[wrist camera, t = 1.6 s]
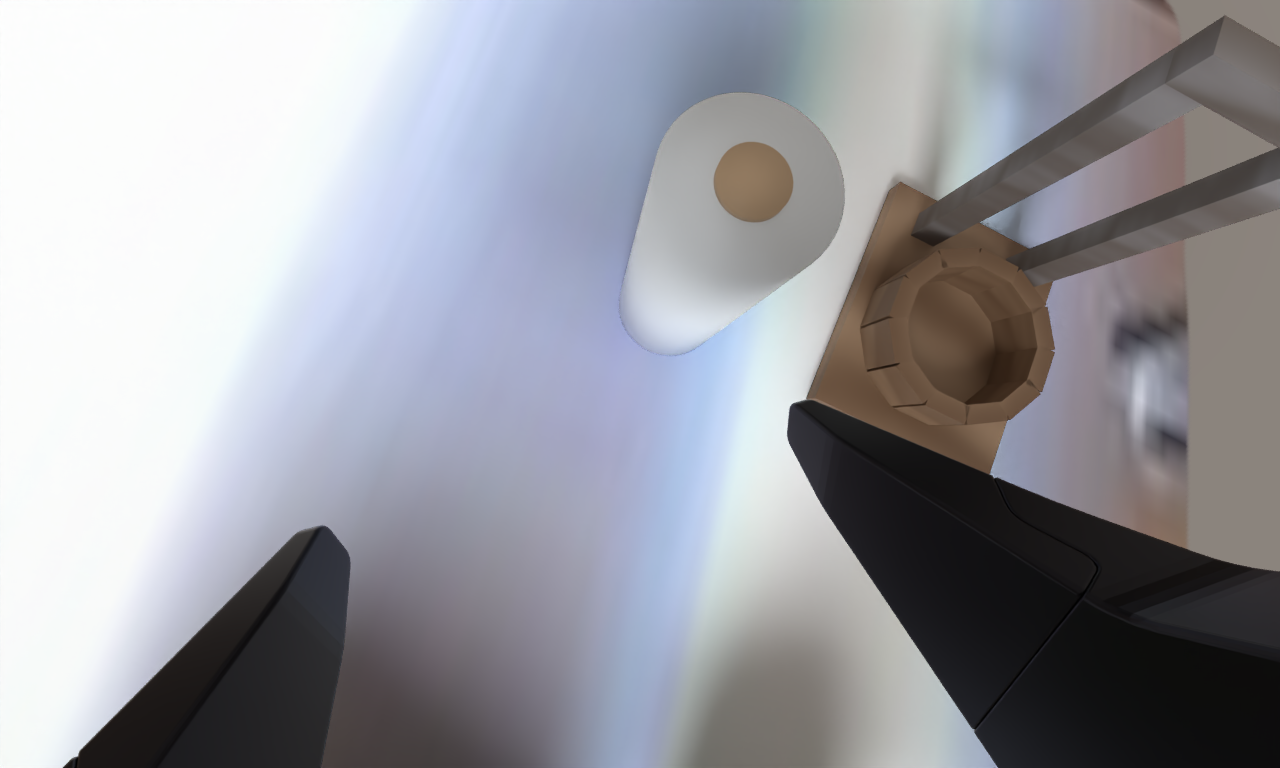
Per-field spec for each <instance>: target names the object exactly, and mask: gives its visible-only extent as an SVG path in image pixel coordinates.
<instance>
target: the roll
mask: <svg viewBox="0 0 1280 768" xmlns="http://www.w3.org/2000/svg"><path fill="white" fill-rule="evenodd" d="M844 201H845V189H844V180H843V175H842V171H841V167H840V164H839V162H838V159H837V156H836V154H835V152H834V150H833V148H832V146H831V145H830V143H829V142H828V140H827V139H826V137H825V136H824V134H823V133H822V132H821V131H820V130H819V128H818V127H817V126H816V125H815V124H814V123H813V122H812V121H811V120H810V119H809V118H807V117H806V116H805V115H804V114H802V113H801V112H800V111H798V110H797V109H795V108H794V107H792V106H790V105H788V104H786V103H785V102H782V101H780V100H777V99H775V98H772V97H769V96H765V95H761V94H755V93H745V92H735V93H725V94H721V95H717V96H713V97H710V98H708V99H705V100H702V101H700V102H699V103H697V104H695V105H693V106H692V107H690V108H689V109H688V110H686V111H685V112H684V113H682V114H681V115H680V116H679V117H678V118H677V119H676V120H675V121H674V122H673V124H672V125H671V127H670V128H669V129H668V131H667V132H666V134H665V136H664V138H663V140H662V141H661V144H660V146H659V149H658V152H657V155H656V159H655V163H654V166H653V170H652V174H651V178H650V182H649V185H648V189H647V193H646V197H645V200H644V204H643V208H642V212H641V216H640V219H639V223H638V227H637V231H636V235H635V238H634V242H633V246H632V250H631V254H630V257H629V261H628V265H627V269H626V272H625V276H624V280H623V284H622V288H621V291H620V296H619V314H620V318H621V321H622V324H623V326H624V328H625V330H626V332H627V333H628V335H629V336H630V337H631V338H632V339H633V341H634V342H636V343H637V344H638V345H639V346H641V347H642V348H644V349H645V350H647V351H649V352H652V353H655V354H658V355H664V356H676V355H682V354H685V353H688V352H690V351H692V350H694V349H696V348H697V347H699V346H700V345H701V344H703V343H704V342H706V341H707V340H708V339H710V338H711V337H712V336H714V335H715V334H716V333H718V332H719V331H721V330H722V329H723V328H725V327H726V326H727V325H729V324H730V323H732V322H733V321H734V320H736V319H737V318H738V317H740V316H741V315H742V314H744V313H745V312H747V311H748V310H749V309H751V308H752V307H753V306H755V305H756V304H757V303H759V302H760V301H762V300H763V299H764V298H766V297H767V296H768V295H770V294H771V293H772V292H774V291H775V290H777V289H778V288H779V287H781V286H782V285H783V284H785V283H786V282H787V281H789V280H790V279H792V278H793V277H794V276H796V275H797V274H798V273H800V272H801V271H802V270H804V269H805V268H807V267H808V266H809V265H811V264H812V263H813V262H814V261H815V260H816V259H818V258H819V257H820V256H821V255H822V254H823V252H824V251H825V250H826V249H827V248H828V246H829V245H830V243H831V242H832V240H833V239H834V237H835V235H836V233H837V230H838V228H839V226H840V222H841V219H842V215H843V209H844Z"/></svg>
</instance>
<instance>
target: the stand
mask: <svg viewBox="0 0 1280 768" xmlns="http://www.w3.org/2000/svg"><path fill="white" fill-rule="evenodd" d="M1201 105H1203V106H1205V107H1207V108H1209V109H1211V110H1212V111H1214V112H1216V113H1218V114H1220V115H1221V116H1223V117H1225V118H1226V119H1228V120H1230V121H1232V122H1234V123H1235V124H1237V125H1239V126H1241V127H1243V128H1244V129H1246V130H1248V131H1250V132H1251V133H1253V134H1255V135H1257V136H1259V137H1260V138H1262V139H1264V140H1266V141H1267V142H1269V143H1271V144H1273V145H1275V146H1277V147H1278V148H1277V149H1274V150H1272V151H1269V152H1267V153H1264V154H1262V155H1259V156H1257V157H1254V158H1252V159H1249V160H1247V161H1245V162H1242V163H1240V164H1237V165H1235V166H1232V167H1230V168H1227V169H1225V170H1222V171H1220V172H1218V173H1215V174H1213V175H1210V176H1208V177H1205V178H1203V179H1200V180H1198V181H1195V182H1193V183H1191V184H1188V185H1186V186H1183V187H1181V188H1178V189H1176V190H1173V191H1171V192H1168V193H1166V194H1163V195H1161V196H1159V197H1156V198H1154V199H1151V200H1149V201H1146V202H1144V203H1141V204H1139V205H1136V206H1134V207H1132V208H1129V209H1127V210H1124V211H1122V212H1119V213H1117V214H1114V215H1112V216H1109V217H1107V218H1105V219H1102V220H1100V221H1097V222H1095V223H1092V224H1090V225H1087V226H1085V227H1082V228H1080V229H1078V230H1075V231H1073V232H1070V233H1068V234H1065V235H1063V236H1060V237H1058V238H1055V239H1053V240H1051V241H1048V242H1046V243H1043V244H1041V245H1038V246H1036V247H1033V248H1031V249H1028V248H1026V247H1024V246H1022V245H1020V244H1019V243H1017V242H1015V241H1013V240H1011V239H1009V238H1007V237H1005V236H1003V235H1001V234H999V233H997V232H996V231H994V230H992V229H990V228H988V227H986V226H984V225H982V224H980V223H979V222H981V221H983V220H985V219H987V218H989V217H990V216H992V215H994V214H996V213H998V212H1000V211H1002V210H1004V209H1006V208H1007V207H1009V206H1011V205H1013V204H1015V203H1017V202H1019V201H1021V200H1023V199H1025V198H1026V197H1028V196H1030V195H1032V194H1034V193H1036V192H1038V191H1040V190H1042V189H1044V188H1045V187H1047V186H1049V185H1051V184H1053V183H1055V182H1057V181H1059V180H1061V179H1063V178H1064V177H1066V176H1068V175H1070V174H1072V173H1074V172H1076V171H1078V170H1080V169H1082V168H1083V167H1085V166H1087V165H1089V164H1091V163H1093V162H1095V161H1097V160H1099V159H1101V158H1102V157H1104V156H1106V155H1108V154H1110V153H1112V152H1114V151H1116V150H1118V149H1120V148H1121V147H1123V146H1125V145H1127V144H1129V143H1131V142H1133V141H1135V140H1137V139H1138V138H1140V137H1142V136H1144V135H1146V134H1148V133H1150V132H1152V131H1154V130H1156V129H1157V128H1159V127H1161V126H1163V125H1165V124H1167V123H1169V122H1171V121H1173V120H1175V119H1176V118H1178V117H1180V116H1182V115H1184V114H1186V113H1188V112H1190V111H1192V110H1194V109H1195V108H1197V107H1199V106H1201ZM1277 209H1280V47H1279V46H1277V45H1275V44H1274V43H1272V42H1270V41H1269V40H1267V39H1265V38H1263V37H1262V36H1260V35H1258V34H1256V33H1255V32H1253V31H1251V30H1249V29H1248V28H1246V27H1244V26H1242V25H1241V24H1239V23H1237V22H1236V21H1234V20H1232V19H1231V18H1229V17H1227V16H1223V17H1222V18H1220V19H1219V20H1217V21H1216V22H1214V23H1213V24H1211V25H1209V26H1208V27H1206V28H1205V29H1203V30H1202V31H1200V32H1199V33H1197V34H1195V35H1194V36H1192V37H1191V38H1189V39H1188V40H1186V41H1185V42H1183V43H1182V44H1180V45H1178V46H1177V47H1175V48H1174V49H1172V50H1171V51H1169V52H1168V53H1166V54H1165V55H1163V56H1161V57H1160V58H1158V59H1157V60H1155V61H1154V62H1152V63H1151V64H1149V65H1148V66H1146V67H1144V68H1143V69H1141V70H1140V71H1138V72H1137V73H1135V74H1134V75H1132V76H1131V77H1129V78H1127V79H1126V80H1124V81H1123V82H1121V83H1120V84H1118V85H1117V86H1115V87H1114V88H1112V89H1111V90H1109V91H1107V92H1106V93H1104V94H1103V95H1101V96H1100V97H1098V98H1097V99H1095V100H1094V101H1092V102H1090V103H1089V104H1087V105H1086V106H1084V107H1083V108H1081V109H1080V110H1078V111H1077V112H1075V113H1073V114H1072V115H1070V116H1069V117H1067V118H1066V119H1064V120H1063V121H1061V122H1060V123H1058V124H1056V125H1055V126H1053V127H1052V128H1050V129H1049V130H1047V131H1046V132H1044V133H1043V134H1041V135H1039V136H1038V137H1036V138H1035V139H1033V140H1032V141H1030V142H1029V143H1027V144H1026V145H1024V146H1023V147H1021V148H1019V149H1018V150H1016V151H1015V152H1013V153H1012V154H1010V155H1009V156H1007V157H1006V158H1004V159H1002V160H1001V161H999V162H998V163H996V164H995V165H993V166H992V167H990V168H989V169H987V170H985V171H984V172H982V173H981V174H979V175H978V176H976V177H975V178H973V179H972V180H970V181H968V182H967V183H965V184H964V185H962V186H961V187H959V188H958V189H956V190H955V191H953V192H951V193H950V194H948V195H947V196H945V197H944V198H942V199H941V200H939V201H936V200H934V199H932V198H930V197H928V196H926V195H924V194H923V193H921V192H919V191H917V190H915V189H913V188H911V187H909V186H907V185H905V184H903V183H901V182H900V183H899V184H897V185H896V186H895V187H893V188H892V189H891V190H890V191H889V193H888V195H887V198H886V200H885V203H884V205H883V208H882V210H881V213H880V216H879V218H878V221H877V223H876V226H875V228H874V231H873V233H872V236H871V238H870V241H869V243H868V246H867V248H866V251H865V253H864V256H863V258H862V261H861V263H860V266H859V268H858V271H857V273H856V276H855V278H854V281H853V283H852V286H851V288H850V291H849V293H848V296H847V298H846V301H845V303H844V306H843V308H842V311H841V313H840V316H839V318H838V321H837V323H836V326H835V328H834V331H833V334H832V336H831V339H830V341H829V344H828V346H827V349H826V351H825V354H824V356H823V359H822V361H821V364H820V366H819V369H818V371H817V374H816V376H815V379H814V381H813V384H812V386H811V389H810V391H809V394H808V396H807V400H808V399H811V400H814V401H817V402H819V403H822V404H824V405H826V406H829V407H831V408H833V409H836V410H838V411H841V412H843V413H845V414H848V415H850V416H852V417H855V418H857V419H859V420H862V421H864V422H867V423H869V424H871V425H874V426H876V427H878V428H881V429H883V430H885V431H888V432H890V433H893V434H895V435H897V436H900V437H902V438H904V439H907V440H909V441H911V442H914V443H916V444H919V445H921V446H923V447H926V448H928V449H930V450H933V451H935V452H937V453H940V454H942V455H945V456H947V457H949V458H952V459H954V460H956V461H959V462H961V463H963V464H966V465H968V466H971V467H973V468H975V469H978V470H980V471H982V472H985V473H987V474H990V471H991V468H992V465H993V462H994V459H995V456H996V453H997V450H998V447H999V444H1000V440H1001V437H1002V434H1003V431H1004V428H1005V425H1006V422H1007V421H1008V420H1011V419H1012V418H1013V417H1014V416H1015V415H1017V414H1018V413H1019V412H1020V411H1021V410H1022V409H1024V408H1025V407H1026V406H1027V405H1028V404H1029V403H1031V402H1032V401H1033V400H1034V399H1035V398H1037V397H1038V396H1039V395H1040V392H1042V391H1043V387H1044V384H1045V381H1046V378H1047V375H1048V372H1049V369H1050V366H1051V363H1052V359H1053V356H1054V353H1055V352H1053V351H1051V350H1055V347H1054V341H1053V336H1052V330H1051V324H1050V319H1049V313H1048V307H1045V305H1046V301H1047V298H1048V295H1049V292H1050V289H1051V286H1052V283H1053V281H1055V280H1058V279H1061V278H1064V277H1067V276H1071V275H1074V274H1077V273H1080V272H1083V271H1086V270H1089V269H1093V268H1096V267H1099V266H1102V265H1105V264H1108V263H1111V262H1114V261H1118V260H1121V259H1124V258H1127V257H1130V256H1133V255H1136V254H1140V253H1143V252H1146V251H1149V250H1152V249H1155V248H1158V247H1162V246H1165V245H1168V244H1171V243H1174V242H1177V241H1180V240H1183V239H1187V238H1190V237H1193V236H1196V235H1199V234H1202V233H1205V232H1209V231H1212V230H1215V229H1218V228H1221V227H1224V226H1227V225H1231V224H1233V223H1237V222H1240V221H1243V220H1246V219H1249V218H1252V217H1255V216H1259V215H1262V214H1265V213H1268V212H1271V211H1274V210H1277Z"/></svg>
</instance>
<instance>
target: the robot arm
mask: <svg viewBox="0 0 1280 768" xmlns="http://www.w3.org/2000/svg"><path fill="white" fill-rule="evenodd" d="M787 437H788V441H789V444H790V446H791V448H792V450H793V452H794V454H795V456H796V457H797V459H798V461H799V463H800V465H801V467H802V469H803V471H804V473H805V475H806V477H807V478H808V480H809V482H810V484H811V486H812V488H813V490H814V492H815V494H816V496H817V497H818V499H819V501H820V503H821V505H822V506H823V508H824V509H825V511H826V513H827V514H828V516H829V517H830V519H831V520H832V522H833V523H834V525H835V526H836V528H837V529H838V531H839V532H840V534H841V535H842V536H843V538H844V539H845V541H846V542H847V544H848V545H849V547H850V548H851V550H852V551H853V553H854V554H855V556H856V557H857V559H858V560H859V562H860V563H861V565H862V566H863V568H864V569H865V571H866V572H867V574H868V575H869V577H870V578H871V579H872V581H873V582H874V584H875V585H876V587H877V588H878V590H879V591H880V593H881V594H882V596H883V597H884V599H885V600H886V602H887V603H888V605H889V606H890V608H891V609H892V611H893V612H894V614H895V615H896V617H897V618H898V620H899V621H900V623H901V624H902V625H903V627H904V628H905V630H906V631H907V633H908V634H909V636H910V637H911V639H912V640H913V642H914V643H915V645H916V646H917V648H918V649H919V651H920V652H921V654H922V655H923V657H924V658H925V660H926V661H927V663H928V664H929V666H930V667H931V668H932V670H933V671H934V673H935V674H936V676H937V677H938V679H939V680H940V682H941V683H942V685H943V686H944V688H945V689H946V691H947V692H948V694H949V695H950V697H951V698H952V700H953V701H954V703H955V704H956V706H957V707H958V709H959V710H960V712H961V713H962V714H963V716H964V717H965V719H966V720H967V722H968V723H969V725H970V726H971V728H972V729H975V730H974V733H975V734H976V736H977V737H978V739H979V740H980V742H981V743H982V745H983V746H984V748H985V749H986V751H987V752H988V754H989V755H990V757H991V758H992V760H993V761H994V762H995V764H996V765H997V767H998V768H1280V571H1279V572H1278V571H1271V570H1263V569H1257V568H1251V567H1247V566H1242V565H1237V564H1233V563H1229V562H1225V561H1221V560H1217V559H1214V558H1211V557H1208V556H1205V555H1202V554H1199V553H1196V552H1193V551H1190V550H1188V549H1185V548H1182V547H1179V546H1176V545H1174V544H1171V543H1168V542H1165V541H1162V540H1160V539H1157V538H1154V537H1151V536H1148V535H1146V534H1143V533H1140V532H1137V531H1134V530H1132V529H1129V528H1126V527H1123V526H1120V525H1118V524H1115V523H1112V522H1109V521H1106V520H1104V519H1101V518H1098V517H1095V516H1093V515H1090V514H1087V513H1085V512H1082V511H1079V510H1076V509H1074V508H1071V507H1068V506H1066V505H1063V504H1060V503H1058V502H1055V501H1053V500H1050V499H1048V498H1045V497H1043V496H1040V495H1038V494H1035V493H1033V492H1030V491H1028V490H1025V489H1023V488H1021V487H1018V486H1016V485H1013V484H1011V483H1009V482H1006V481H1004V480H1002V479H999V478H993V476H992V475H989V474H987V473H985V472H982V471H980V470H978V469H975V468H973V467H971V466H968V465H966V464H963V463H961V462H959V461H956V460H954V459H952V458H949V457H947V456H945V455H942V454H940V453H937V452H935V451H933V450H930V449H928V448H926V447H923V446H921V445H919V444H916V443H914V442H911V441H909V440H907V439H904V438H902V437H900V436H897V435H895V434H893V433H890V432H888V431H885V430H883V429H881V428H878V427H876V426H874V425H871V424H869V423H867V422H864V421H862V420H859V419H857V418H855V417H852V416H850V415H848V414H845V413H843V412H841V411H838V410H836V409H833V408H831V407H829V406H826V405H824V404H822V403H819V402H817V401H814V400H811V399H808V400H803V401H800V402H796V403H793V404H792V405H791V406H790V410H789V419H788V430H787ZM349 577H350V557H349V554H348V552H347V550H346V549H345V548H344V546H343V545H342V544H341V543H340V541H339V540H338V539H337V537H336V536H335V535H334V534H333V532H332V531H331V530H330V529H329V528H328V527H326V526H316V527H312V528H309V529H305V530H302V531H299V532H297V533H296V534H295V535H294V536H293V537H292V538H291V539H290V540H289V541H288V542H287V543H286V544H285V545H284V546H283V547H282V548H281V549H280V550H279V551H278V552H277V553H276V554H275V555H274V556H273V557H272V558H271V559H270V560H269V561H268V562H267V563H266V564H265V565H264V566H263V567H262V568H261V569H260V570H259V571H258V572H257V573H256V574H255V575H254V576H253V577H252V578H251V579H250V580H249V581H248V582H247V583H246V584H245V585H244V586H243V587H242V588H241V589H240V590H239V591H238V592H237V593H236V594H235V595H234V596H233V597H232V598H231V599H230V600H229V601H228V602H227V603H226V604H225V605H224V606H223V607H222V608H221V609H220V610H219V611H218V612H217V613H216V614H215V615H214V616H213V617H212V618H211V619H210V620H209V621H208V622H207V623H206V624H205V625H204V626H203V627H202V628H201V629H200V630H199V631H198V632H197V633H196V634H195V635H194V636H193V637H192V638H191V639H190V640H189V641H188V642H187V643H186V644H185V645H184V646H183V647H182V648H181V649H180V650H179V651H178V652H177V653H176V654H175V655H174V656H173V657H172V658H171V659H170V660H169V662H168V663H167V664H166V665H165V666H164V667H163V668H162V669H161V670H160V671H159V672H158V673H157V674H156V675H155V676H154V677H153V678H152V679H151V680H150V681H149V682H148V683H147V684H146V685H145V686H144V687H143V688H142V689H141V690H140V691H139V692H138V693H137V694H136V695H135V696H134V697H133V698H132V699H131V700H130V701H129V702H128V703H127V704H126V705H125V706H124V707H123V708H122V709H121V710H120V711H119V712H118V713H117V714H116V715H115V716H114V717H113V718H112V719H111V720H110V721H109V722H108V723H107V724H106V725H105V726H104V727H103V728H102V729H101V730H100V731H99V732H98V733H97V734H96V735H95V736H94V737H93V738H92V739H91V740H90V741H89V742H88V743H87V744H86V745H85V746H84V747H83V748H82V749H81V750H80V751H79V754H78V756H77V757H74V758H72V759H71V760H70V761H69V762H68V763H67V764H66V765H65V766H64V767H63V768H321V764H322V759H323V754H324V749H325V744H326V738H327V733H328V728H329V723H330V718H331V712H332V707H333V702H334V697H335V692H336V686H337V681H338V676H339V671H340V666H341V660H342V654H343V648H344V640H345V630H346V617H347V603H348V590H349Z"/></svg>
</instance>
